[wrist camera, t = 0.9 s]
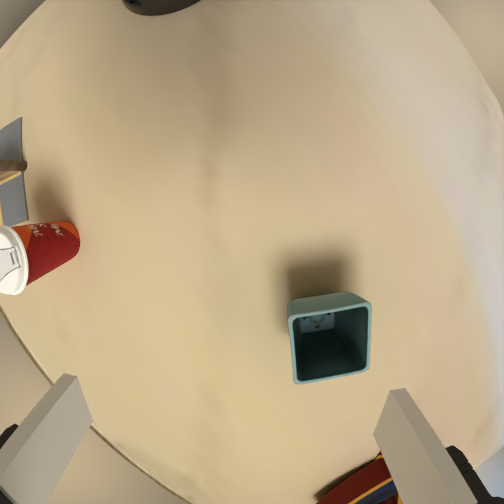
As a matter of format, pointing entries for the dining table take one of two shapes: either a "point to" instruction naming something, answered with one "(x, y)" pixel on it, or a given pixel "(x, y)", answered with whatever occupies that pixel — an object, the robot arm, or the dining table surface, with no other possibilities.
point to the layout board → (12, 177)
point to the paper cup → (34, 252)
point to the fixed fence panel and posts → (11, 168)
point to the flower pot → (329, 336)
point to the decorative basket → (366, 487)
